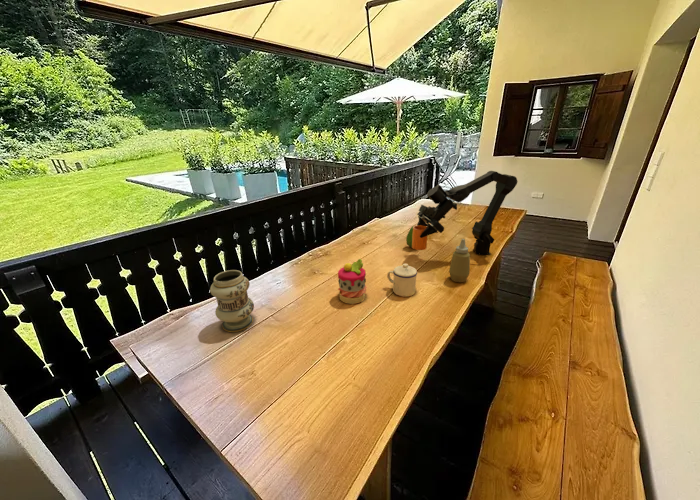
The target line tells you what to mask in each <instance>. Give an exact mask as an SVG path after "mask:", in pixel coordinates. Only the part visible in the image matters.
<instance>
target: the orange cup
mask: <svg viewBox="0 0 700 500" xmlns="http://www.w3.org/2000/svg"><path fill="white" fill-rule="evenodd" d="M413 226H414V227H413ZM413 226H412V227H413V236H412V248H411V249H413V250H416V251H424V250H426V249H427V246H428V236H425V237H422V238H421V237H420V235H421V234H422V232H423V231H424V230H425V229H426V228H427V226H421V225H417V224H416V225H413Z"/></svg>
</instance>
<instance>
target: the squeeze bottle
mask: <svg viewBox="0 0 700 500" xmlns="http://www.w3.org/2000/svg"><path fill="white" fill-rule="evenodd" d="M470 266H471V254H470V253H469V247H467V246H466V239H465V238H461V240H460V243H459V245H457V246H455V250H454V251H453V253H452V256H451V261H450V265H449V269H448V270H449V271H448V272H449V277H450V280H451V281H452V282H454V283H455V282H456V283H465V282H466V281H467V279H468V278H469V275H470V270H471V267H470Z"/></svg>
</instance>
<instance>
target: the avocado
mask: <svg viewBox="0 0 700 500" xmlns="http://www.w3.org/2000/svg"><path fill="white" fill-rule="evenodd" d="M414 226H415V225H412V226H411V227H410V229H409V231H408V232H407V235H406V239H405V242H406V244H407V247H409V248H411V249H413V248H412V236H413V227H414Z"/></svg>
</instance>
